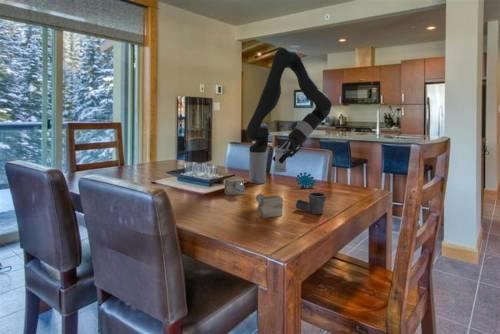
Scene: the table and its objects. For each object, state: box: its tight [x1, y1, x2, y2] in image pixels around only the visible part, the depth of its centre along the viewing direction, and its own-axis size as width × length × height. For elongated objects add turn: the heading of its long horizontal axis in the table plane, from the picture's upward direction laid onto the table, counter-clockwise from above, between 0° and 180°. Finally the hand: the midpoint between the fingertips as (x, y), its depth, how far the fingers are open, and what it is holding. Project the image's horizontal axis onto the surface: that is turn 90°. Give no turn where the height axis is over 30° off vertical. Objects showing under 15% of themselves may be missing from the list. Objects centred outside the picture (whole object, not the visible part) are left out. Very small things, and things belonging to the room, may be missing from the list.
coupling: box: [273, 147, 288, 173], centre depth 157 cm, size 5×5×10 cm
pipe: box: [295, 192, 327, 215], centre depth 140 cm, size 6×13×8 cm, turn 51°
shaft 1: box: [233, 182, 246, 193], centre depth 165 cm, size 7×4×4 cm, turn 24°
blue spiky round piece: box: [295, 171, 318, 190], centre depth 187 cm, size 11×6×10 cm
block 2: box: [257, 194, 284, 219], centre depth 137 cm, size 5×8×7 cm, turn 114°
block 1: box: [224, 177, 245, 196], centre depth 171 cm, size 5×8×7 cm, turn 114°
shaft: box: [255, 193, 265, 203], centre depth 142 cm, size 7×4×4 cm, turn 24°
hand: (277, 161), depth 157 cm, fingers closed on coupling, 4 cm apart
